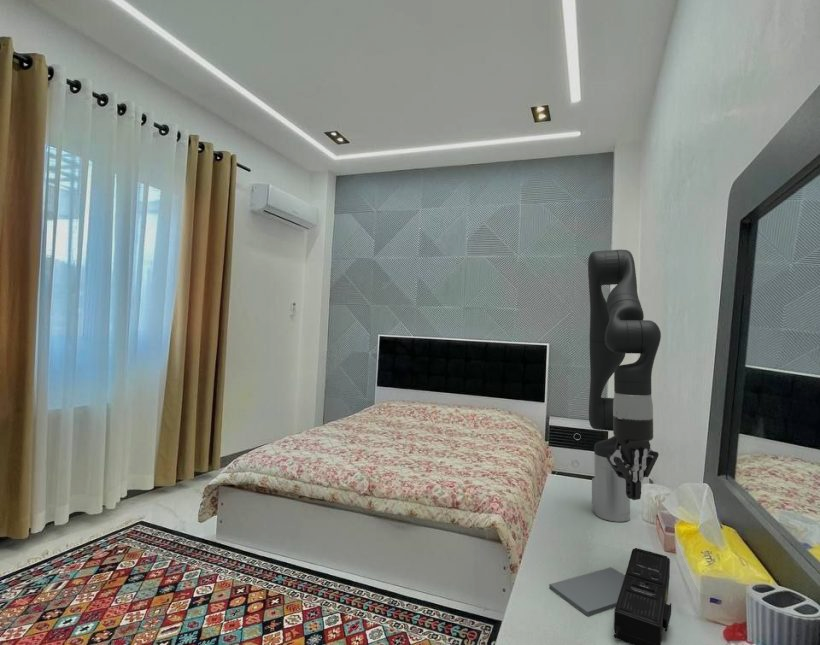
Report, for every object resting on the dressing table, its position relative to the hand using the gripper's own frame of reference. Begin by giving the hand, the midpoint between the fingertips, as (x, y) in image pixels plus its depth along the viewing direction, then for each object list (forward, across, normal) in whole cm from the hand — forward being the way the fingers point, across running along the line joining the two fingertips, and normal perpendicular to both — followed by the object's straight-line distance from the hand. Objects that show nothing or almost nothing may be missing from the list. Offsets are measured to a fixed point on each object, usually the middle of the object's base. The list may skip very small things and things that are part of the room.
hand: (633, 498), depth 94 cm
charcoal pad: (+17, +10, 0) cm, 19 cm away
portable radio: (+13, -3, +2) cm, 14 cm away
